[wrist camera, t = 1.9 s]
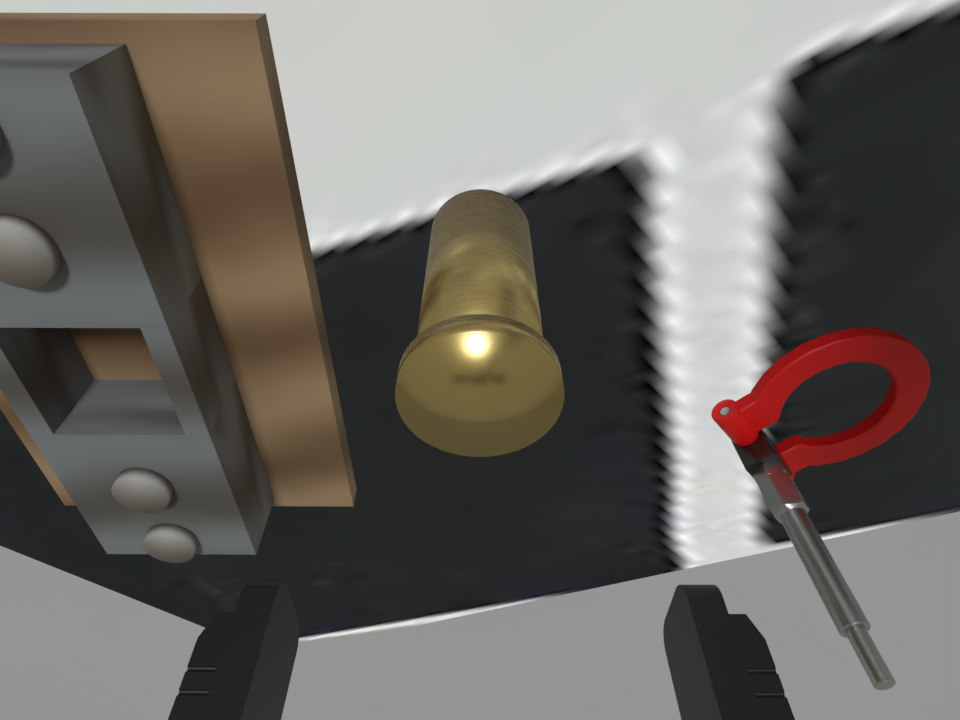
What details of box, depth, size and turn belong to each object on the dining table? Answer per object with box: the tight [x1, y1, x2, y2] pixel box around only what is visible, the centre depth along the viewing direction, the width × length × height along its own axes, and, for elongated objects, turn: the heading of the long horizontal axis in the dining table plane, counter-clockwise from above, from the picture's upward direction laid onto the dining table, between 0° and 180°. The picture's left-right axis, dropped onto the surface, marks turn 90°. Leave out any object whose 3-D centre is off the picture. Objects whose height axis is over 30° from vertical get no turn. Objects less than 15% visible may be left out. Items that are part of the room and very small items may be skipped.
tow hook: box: [711, 328, 931, 690], centre depth 26 cm, size 8×13×9 cm
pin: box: [395, 189, 564, 457], centre depth 21 cm, size 5×5×10 cm
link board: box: [0, 13, 357, 563], centre depth 26 cm, size 24×16×5 cm, turn 0°
